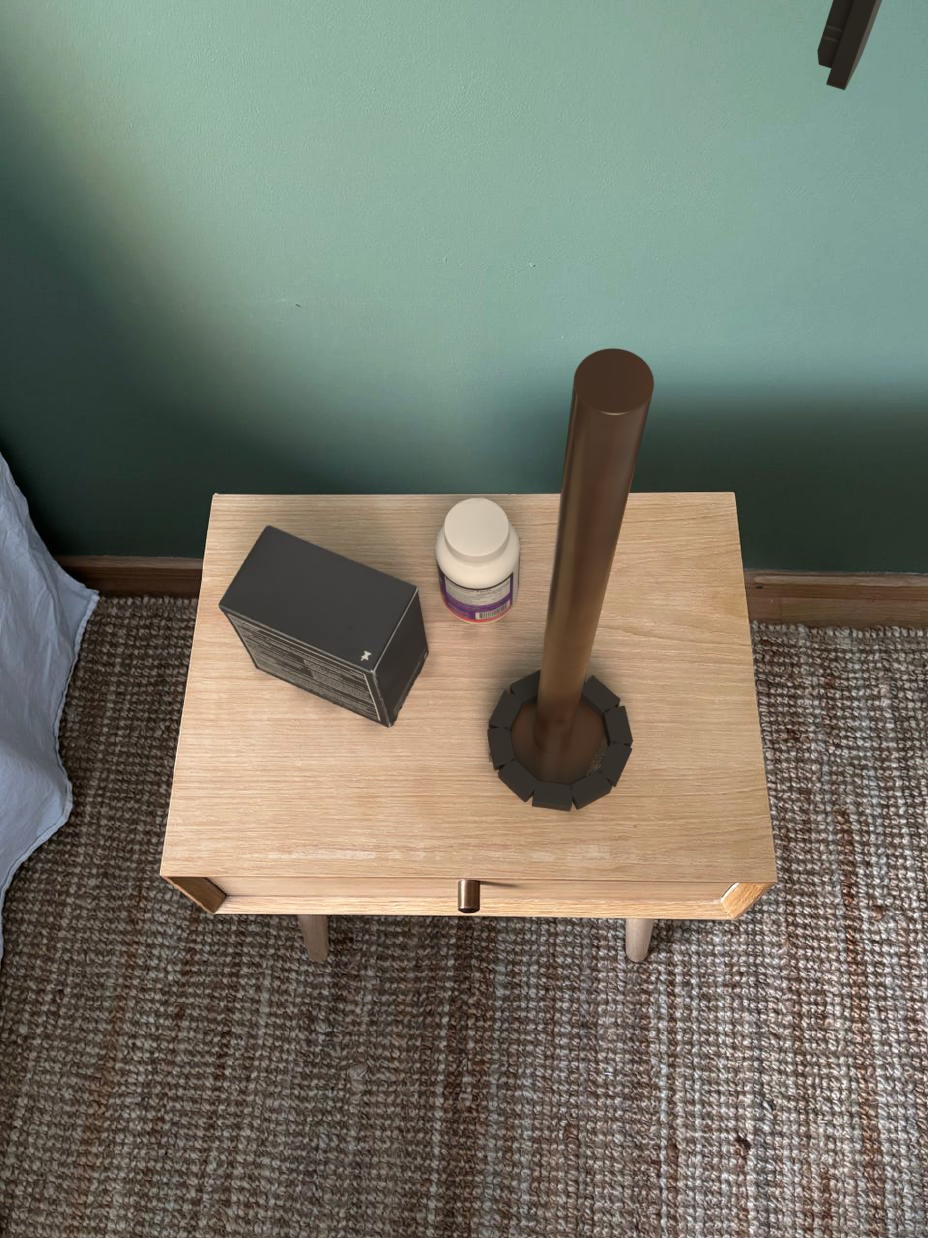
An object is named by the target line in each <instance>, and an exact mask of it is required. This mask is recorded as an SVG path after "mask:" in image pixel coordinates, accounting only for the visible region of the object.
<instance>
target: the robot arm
mask: <svg viewBox="0 0 928 1238" xmlns="http://www.w3.org/2000/svg"><path fill="white" fill-rule="evenodd" d="M882 2H883V0H832V3H831V6H830V9H829V12H828V15H827V18H826V22H825V25H824V28H823V31H822V35H821V37H820V41H819V43H818V47H817V50H816V51H817V59H818V62H817V63H818V65H819V66H821V67H824V68H828V69H830V71H829V73H828V76H827V79H826V83H825V85H826V86H829V87H831V88H836V89H839V90H842V91H846V89H847V88H848V85H849V84H850V81H851V79H852V77H853V75H854V73H855V71H856V69H857V68H858V65H859V63H860V60H861V58H862V57H863V54H864V51H865V49H866V46H867V44H868V41H869V38H870V35H871V32H872V30H873V27H874V24H875V21H876V20H877V19H876V18H877V16H878V13H879V10H880V9H881V5H882Z"/></svg>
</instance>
